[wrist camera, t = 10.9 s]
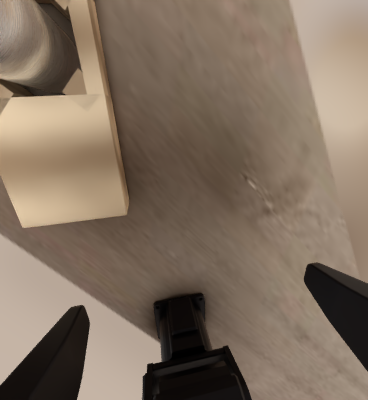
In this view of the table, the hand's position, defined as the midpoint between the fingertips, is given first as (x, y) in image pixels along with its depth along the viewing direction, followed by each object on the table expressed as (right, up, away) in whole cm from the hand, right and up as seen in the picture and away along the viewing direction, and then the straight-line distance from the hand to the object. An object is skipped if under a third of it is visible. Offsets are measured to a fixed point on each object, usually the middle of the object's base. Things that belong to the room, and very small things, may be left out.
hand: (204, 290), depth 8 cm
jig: (-11, +10, +8) cm, 17 cm away
